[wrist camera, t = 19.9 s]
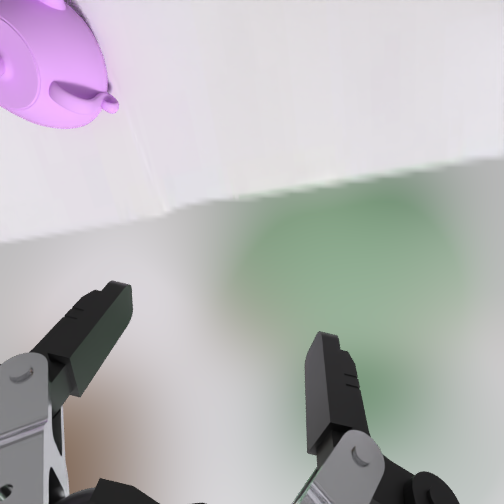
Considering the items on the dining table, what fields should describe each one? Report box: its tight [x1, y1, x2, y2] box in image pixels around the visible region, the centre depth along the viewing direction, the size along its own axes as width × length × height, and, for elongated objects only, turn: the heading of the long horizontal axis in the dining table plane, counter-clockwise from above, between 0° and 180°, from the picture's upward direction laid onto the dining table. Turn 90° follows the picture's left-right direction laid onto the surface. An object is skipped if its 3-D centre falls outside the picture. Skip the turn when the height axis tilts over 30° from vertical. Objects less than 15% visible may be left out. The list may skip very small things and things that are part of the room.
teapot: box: [0, 0, 119, 129], centre depth 37 cm, size 22×22×14 cm
